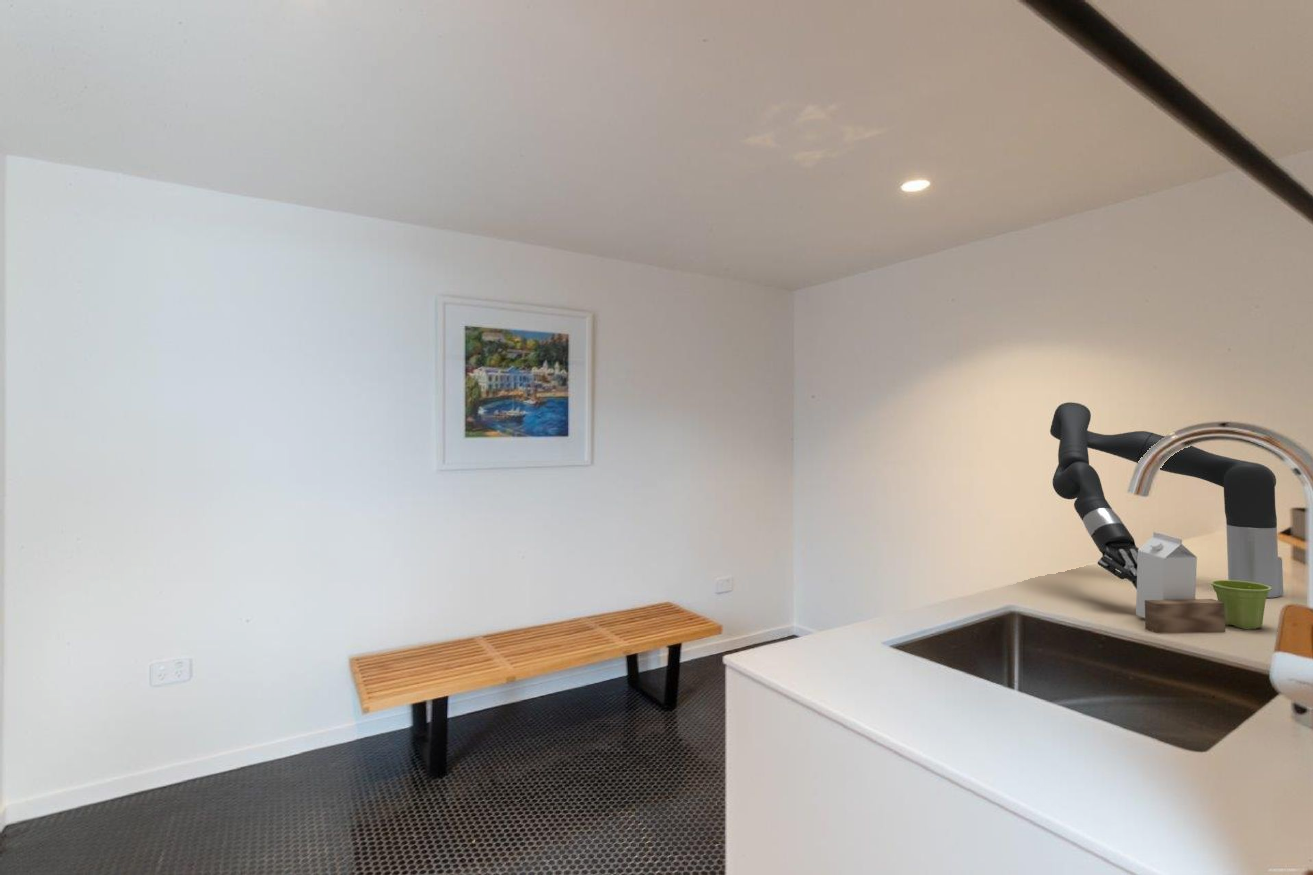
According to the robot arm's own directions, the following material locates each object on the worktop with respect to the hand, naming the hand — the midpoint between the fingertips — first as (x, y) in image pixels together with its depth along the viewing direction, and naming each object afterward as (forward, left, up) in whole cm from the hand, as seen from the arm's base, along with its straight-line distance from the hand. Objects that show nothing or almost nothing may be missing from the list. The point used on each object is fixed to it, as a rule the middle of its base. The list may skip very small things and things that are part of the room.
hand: (1147, 593), depth 138 cm
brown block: (0, +10, -5) cm, 11 cm away
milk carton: (-1, +4, -5) cm, 6 cm away
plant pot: (-14, +7, -6) cm, 17 cm away
